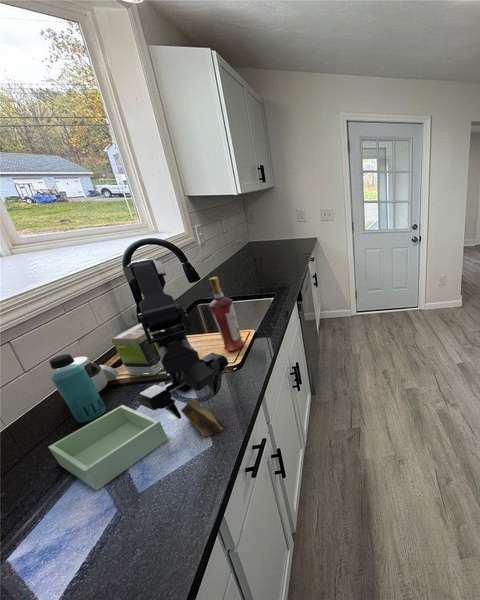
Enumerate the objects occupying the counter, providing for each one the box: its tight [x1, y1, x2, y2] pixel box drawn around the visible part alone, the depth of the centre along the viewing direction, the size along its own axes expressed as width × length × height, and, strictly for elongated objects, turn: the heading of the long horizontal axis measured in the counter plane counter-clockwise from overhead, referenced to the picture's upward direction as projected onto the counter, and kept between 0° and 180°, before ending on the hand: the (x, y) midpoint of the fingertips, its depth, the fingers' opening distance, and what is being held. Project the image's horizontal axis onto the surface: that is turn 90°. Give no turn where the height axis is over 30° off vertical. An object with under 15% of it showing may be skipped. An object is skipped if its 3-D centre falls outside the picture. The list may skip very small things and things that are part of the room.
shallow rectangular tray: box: [47, 404, 169, 491], centre depth 74 cm, size 15×17×6 cm
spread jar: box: [56, 356, 119, 397], centre depth 97 cm, size 12×11×12 cm
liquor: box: [208, 276, 245, 352], centre depth 113 cm, size 7×7×28 cm
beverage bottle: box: [48, 353, 107, 423], centre depth 83 cm, size 6×7×20 cm
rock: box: [180, 398, 224, 437], centre depth 81 cm, size 11×9×10 cm
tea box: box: [110, 322, 164, 377], centre depth 109 cm, size 15×10×15 cm
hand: (197, 405), depth 79 cm, fingers open, 9 cm apart
